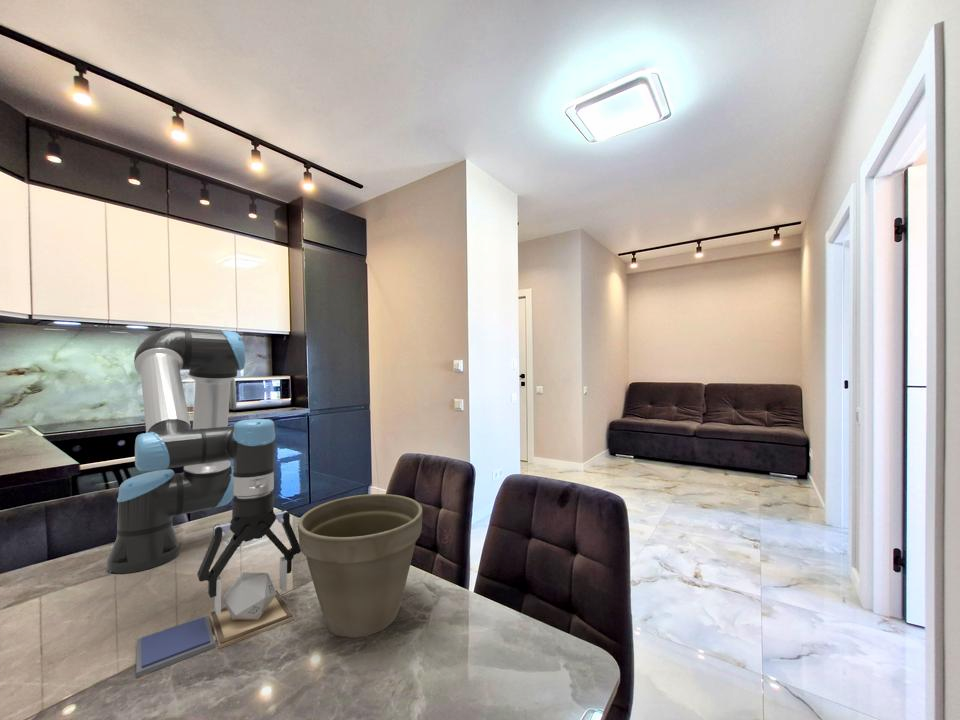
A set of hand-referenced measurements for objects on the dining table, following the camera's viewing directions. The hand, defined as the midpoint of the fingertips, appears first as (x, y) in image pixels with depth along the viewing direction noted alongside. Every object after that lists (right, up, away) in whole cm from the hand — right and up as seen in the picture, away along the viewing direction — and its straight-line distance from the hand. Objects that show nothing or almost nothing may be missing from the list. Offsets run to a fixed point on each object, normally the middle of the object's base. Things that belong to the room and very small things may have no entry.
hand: (251, 599), depth 81 cm
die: (0, -3, 0) cm, 3 cm away
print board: (0, -4, 0) cm, 4 cm away
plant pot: (+23, -4, 0) cm, 23 cm away
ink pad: (-9, -3, -8) cm, 13 cm away
